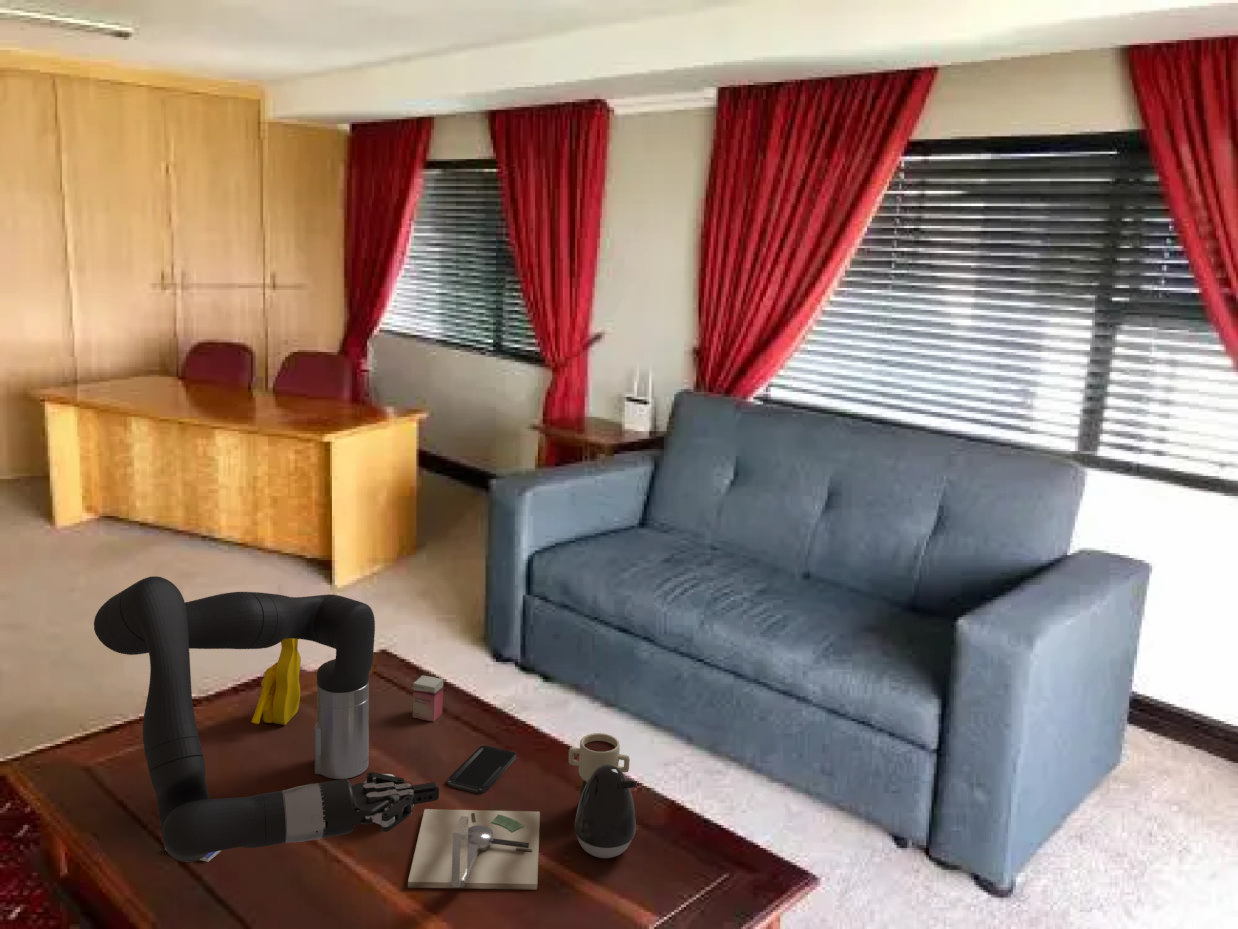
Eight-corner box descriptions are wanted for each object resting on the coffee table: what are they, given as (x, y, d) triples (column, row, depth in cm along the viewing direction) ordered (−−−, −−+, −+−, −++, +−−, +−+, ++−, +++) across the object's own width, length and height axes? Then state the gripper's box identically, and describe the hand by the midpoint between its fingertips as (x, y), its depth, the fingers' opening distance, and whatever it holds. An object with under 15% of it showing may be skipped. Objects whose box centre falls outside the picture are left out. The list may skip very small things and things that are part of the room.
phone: (445, 781, 187) (482, 744, 201) (445, 787, 188) (482, 749, 201) (483, 791, 185) (518, 753, 199) (483, 797, 185) (518, 758, 199)
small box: (411, 718, 211) (412, 683, 209) (421, 709, 215) (421, 674, 214) (434, 722, 210) (434, 687, 208) (443, 713, 214) (444, 678, 212)
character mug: (629, 802, 186) (633, 737, 183) (622, 824, 179) (627, 756, 176) (570, 793, 187) (573, 729, 184) (561, 815, 180) (565, 748, 177)
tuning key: (467, 832, 171) (469, 775, 169) (531, 840, 170) (534, 783, 168) (439, 893, 156) (441, 831, 153) (510, 902, 154) (512, 840, 152)
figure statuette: (282, 697, 217) (280, 599, 212) (317, 701, 216) (316, 603, 211) (242, 737, 200) (239, 632, 195) (281, 742, 199) (279, 636, 194)
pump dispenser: (614, 875, 164) (619, 791, 161) (561, 852, 170) (565, 769, 166) (646, 845, 173) (652, 764, 169) (595, 824, 178) (600, 745, 175)
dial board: (407, 887, 159) (408, 881, 158) (424, 814, 178) (424, 808, 178) (537, 889, 160) (537, 883, 160) (539, 816, 179) (539, 811, 179)
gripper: (310, 809, 151) (426, 790, 158) (324, 861, 140) (448, 838, 147) (310, 764, 150) (427, 746, 157) (324, 812, 138) (450, 791, 145)
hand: (437, 791), depth 152 cm, fingers closed
